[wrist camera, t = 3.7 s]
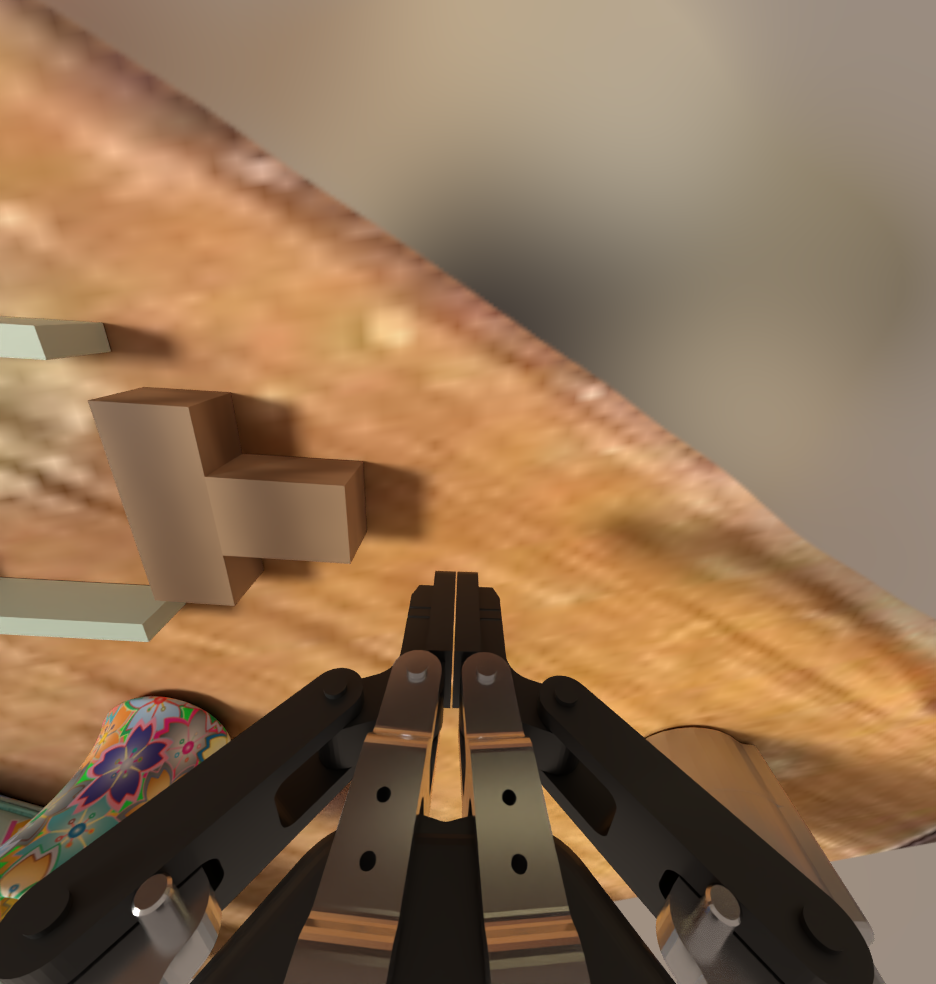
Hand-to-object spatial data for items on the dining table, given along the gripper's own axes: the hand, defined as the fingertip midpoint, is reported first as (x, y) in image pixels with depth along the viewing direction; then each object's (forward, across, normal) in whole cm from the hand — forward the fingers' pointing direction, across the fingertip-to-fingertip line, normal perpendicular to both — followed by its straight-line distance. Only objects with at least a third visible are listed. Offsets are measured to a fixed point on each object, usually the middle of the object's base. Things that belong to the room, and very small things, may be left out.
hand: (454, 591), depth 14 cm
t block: (+8, +10, 0) cm, 12 cm away
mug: (+8, +19, +20) cm, 29 cm away
